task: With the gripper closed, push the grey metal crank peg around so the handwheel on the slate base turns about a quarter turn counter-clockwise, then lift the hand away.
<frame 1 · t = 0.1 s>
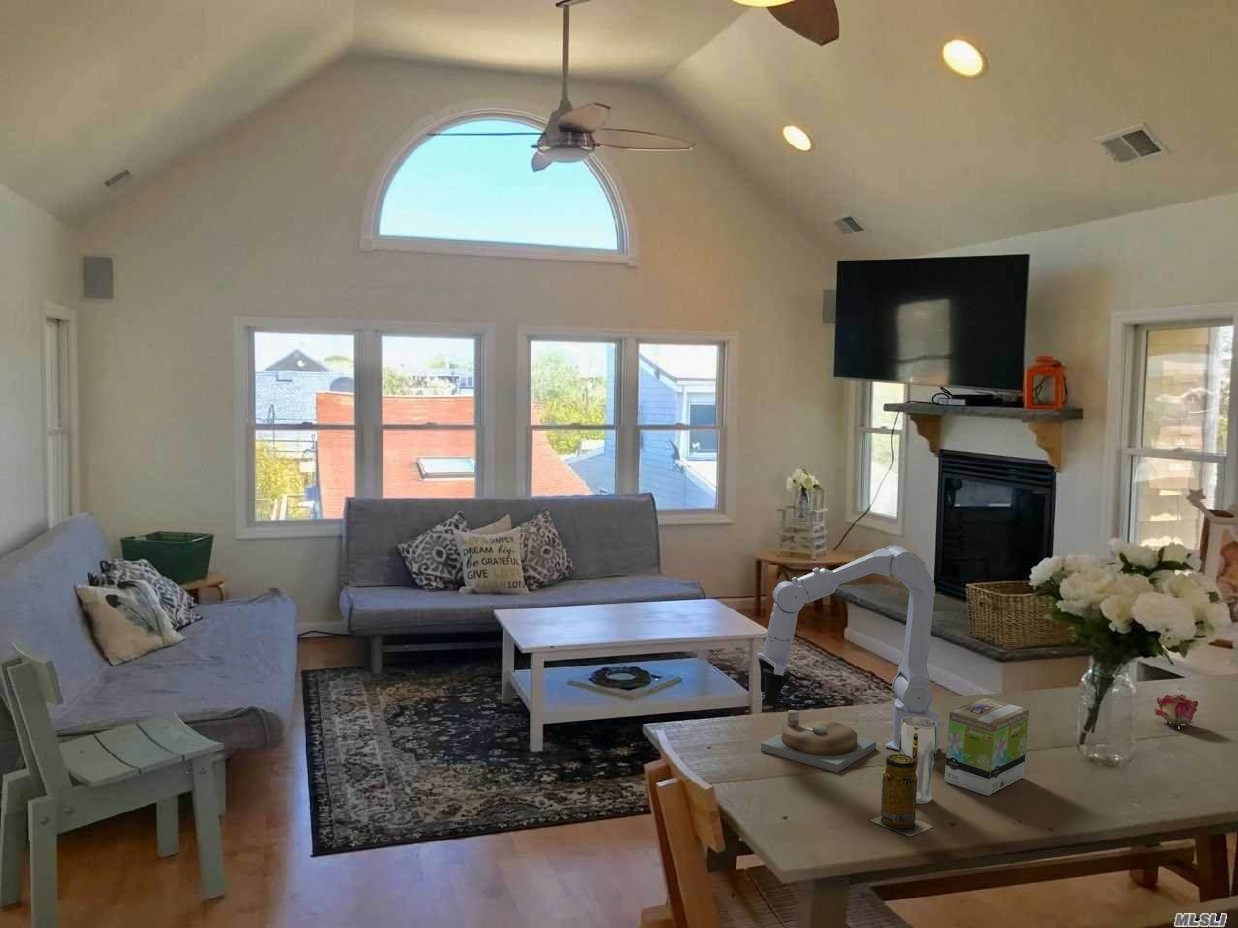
hand: (767, 697, 224), 10 cm above the table, tool pointing down, fingers open, 7 cm apart
beer glass: (914, 798, 198), on the table
handwheel: (819, 729, 222), point 4 cm above the table, hinge at 0.0°
flower: (1174, 726, 243), on the table
tea box: (984, 781, 208), on the table
base plate: (818, 749, 222), on the table
condiment: (901, 825, 186), on the table
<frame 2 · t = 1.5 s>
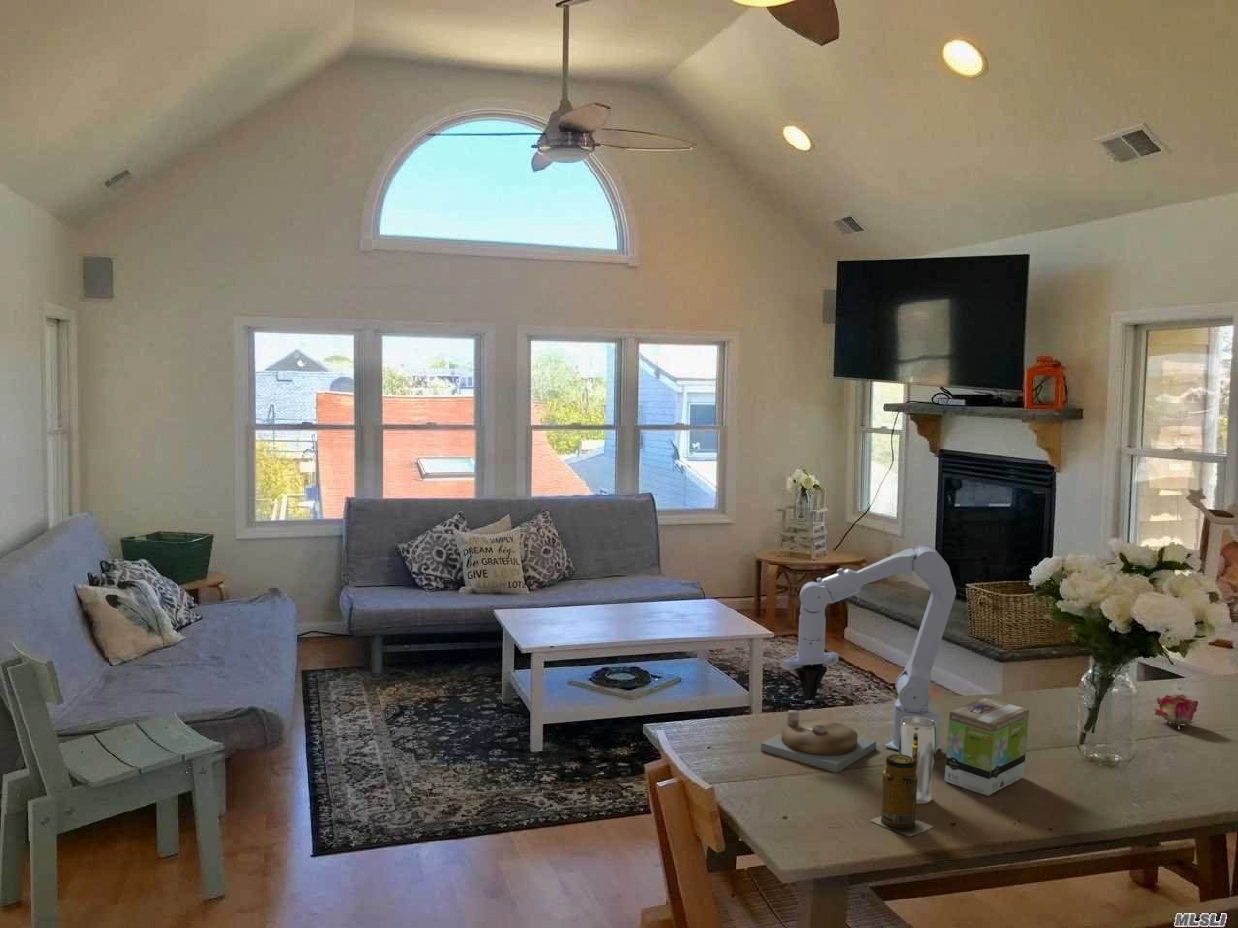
hand: (809, 697, 228), 9 cm above the table, tool pointing down, fingers closed
nothing on the table moved.
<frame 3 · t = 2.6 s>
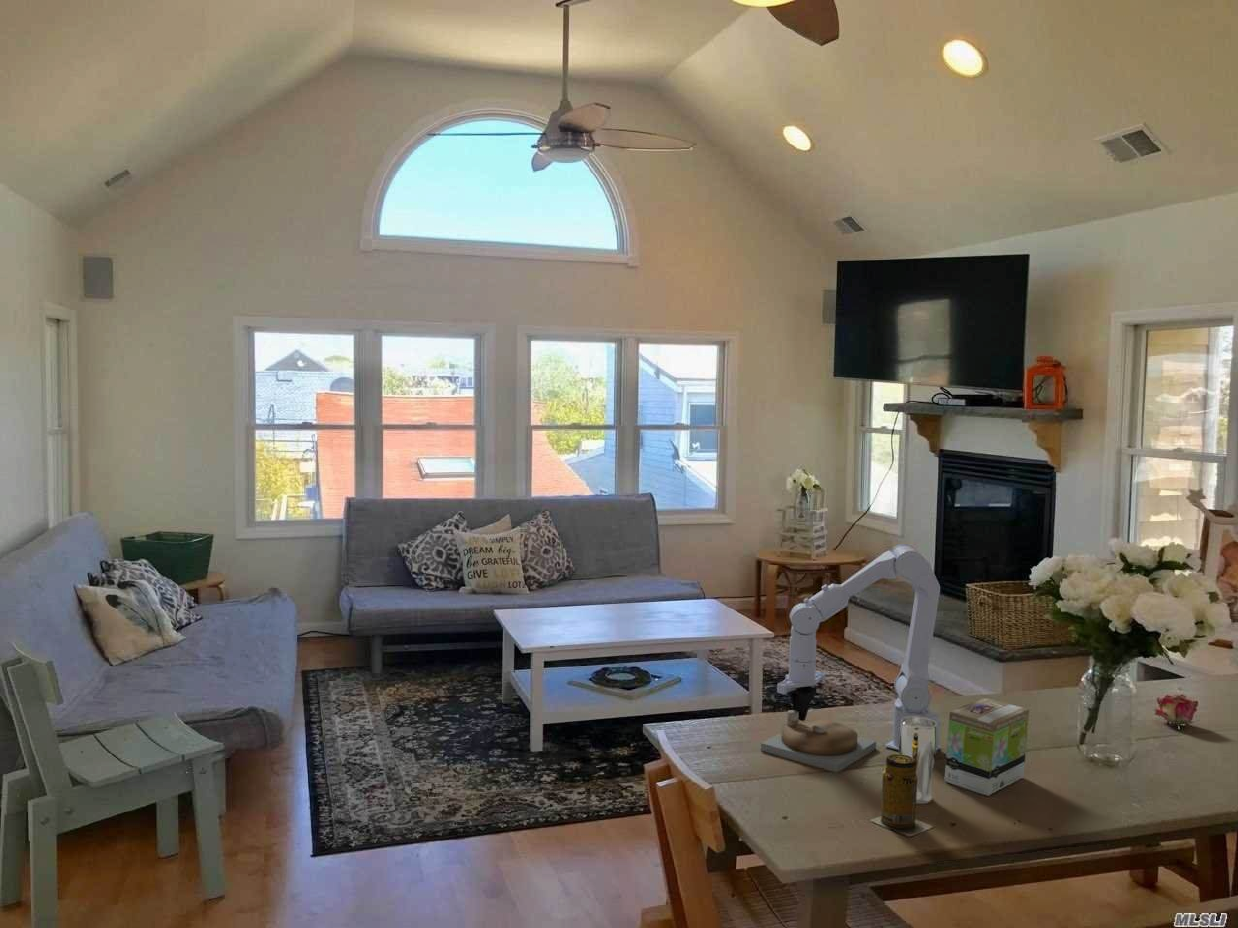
hand: (800, 719, 227), 5 cm above the table, tool pointing down, fingers closed
handwheel: (819, 729, 222), point 4 cm above the table, hinge at 0.7°, touching gripper
everything else where it was.
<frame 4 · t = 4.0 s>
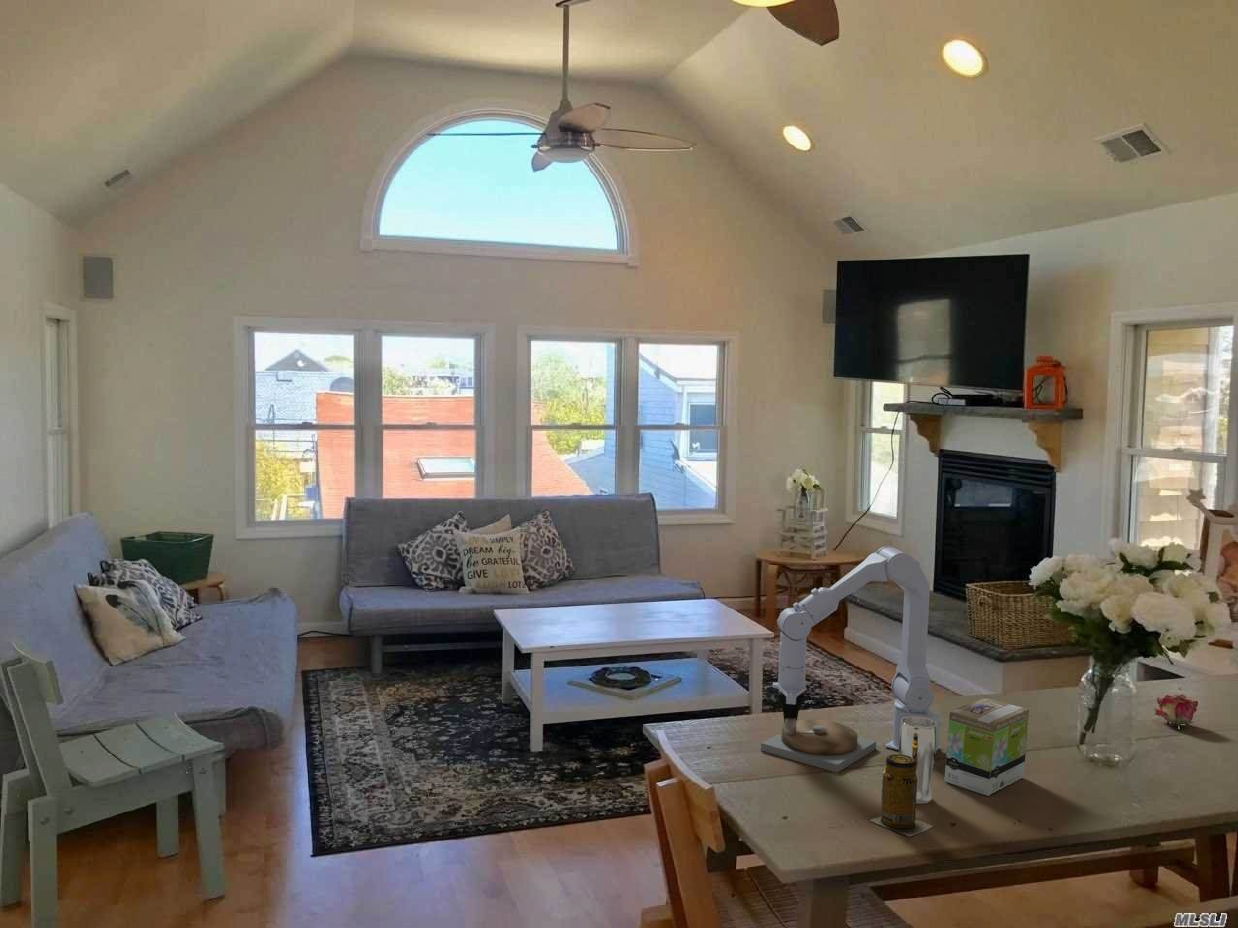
hand: (790, 726, 222), 5 cm above the table, tool pointing down, fingers closed, pressing on handwheel
handwheel: (819, 729, 222), point 4 cm above the table, hinge at 47.7°, touching gripper
everything else where it was.
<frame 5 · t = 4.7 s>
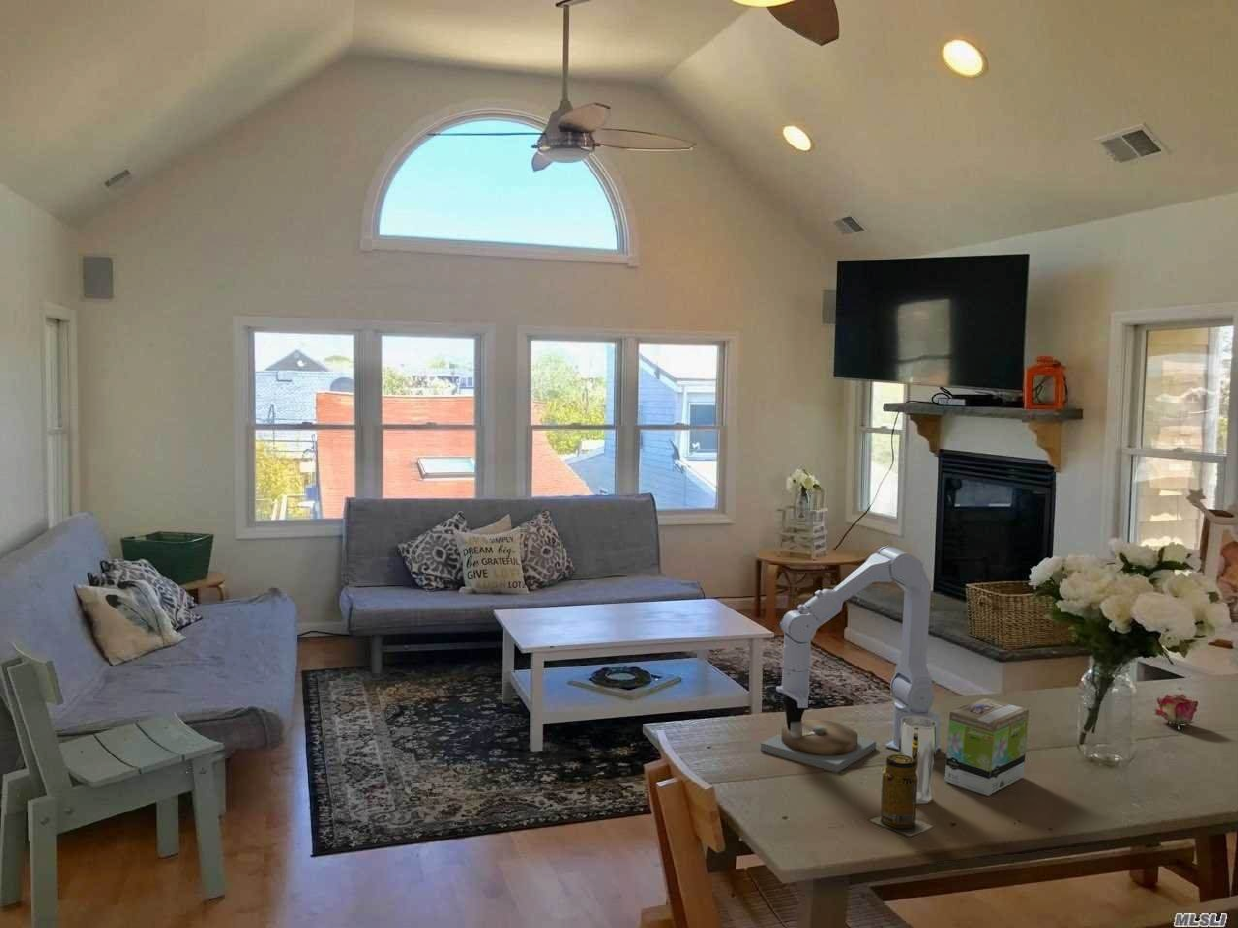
hand: (793, 729, 220), 5 cm above the table, tool pointing down, fingers closed, pressing on handwheel
handwheel: (819, 729, 222), point 4 cm above the table, hinge at 69.8°, touching gripper
everything else where it was.
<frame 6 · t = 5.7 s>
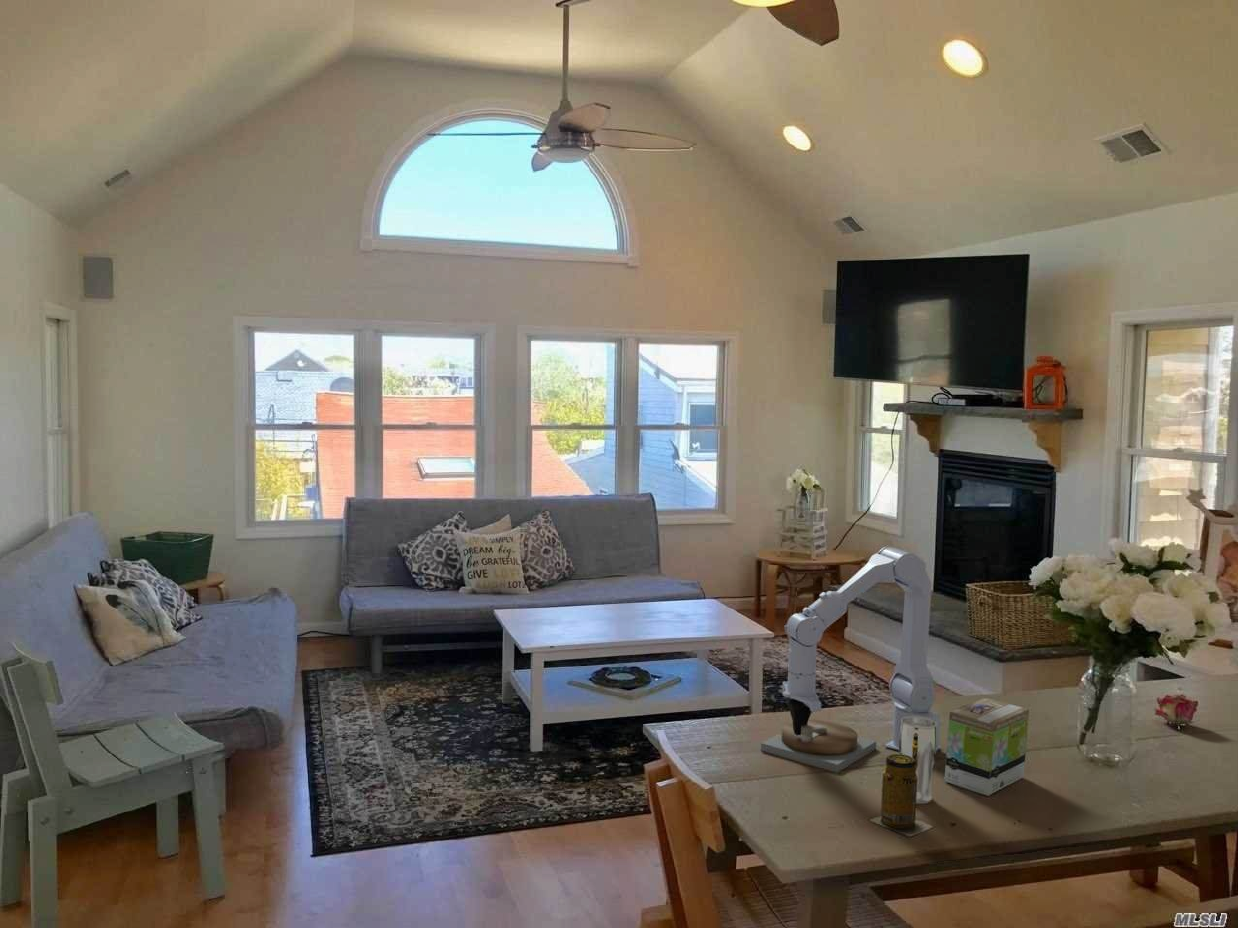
hand: (799, 733, 218), 5 cm above the table, tool pointing down, fingers closed, pressing on handwheel
handwheel: (819, 729, 222), point 4 cm above the table, hinge at 93.8°, touching gripper
everything else where it was.
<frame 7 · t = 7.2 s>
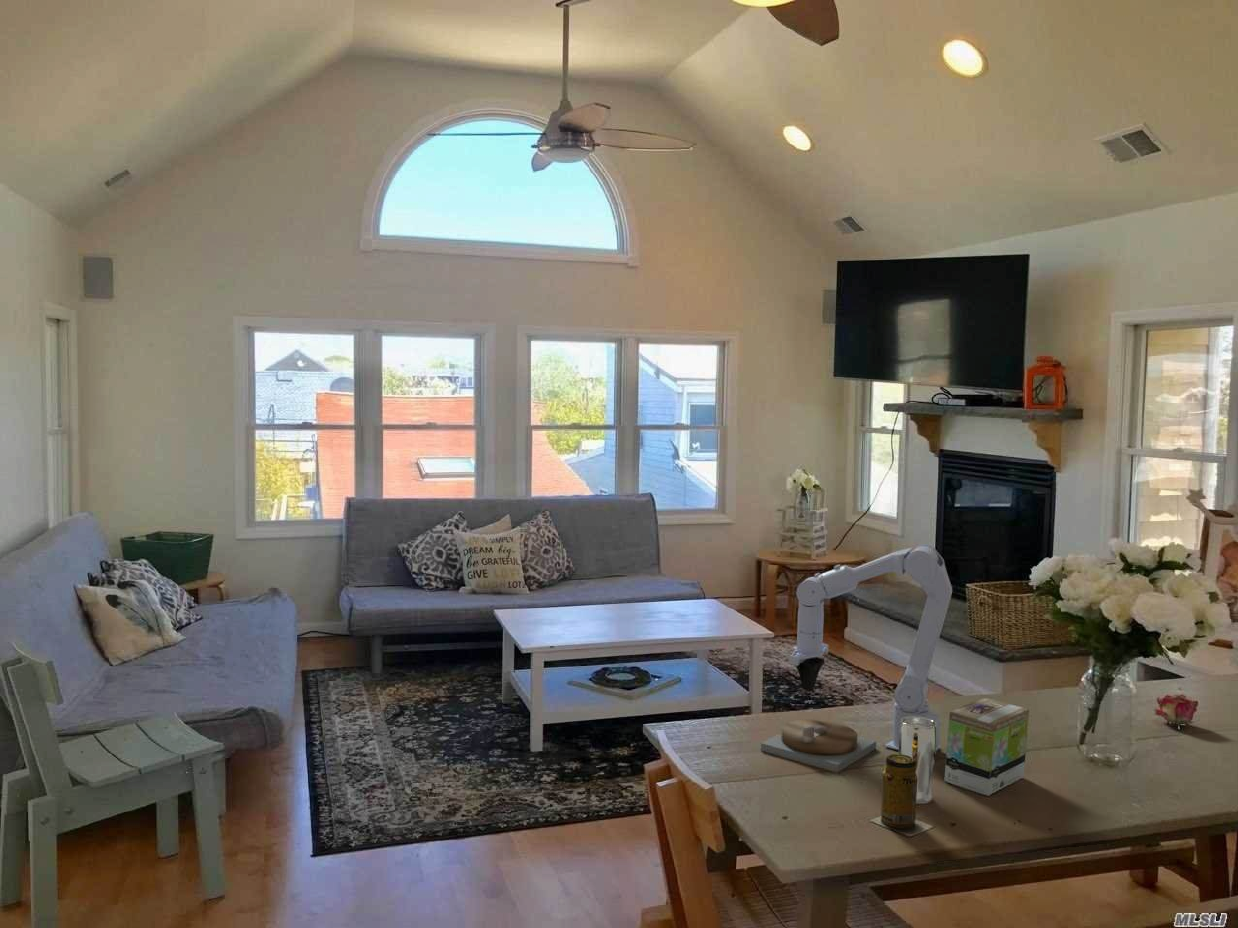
hand: (807, 689, 233), 9 cm above the table, tool pointing down, fingers closed
handwheel: (819, 729, 222), point 4 cm above the table, hinge at 96.9°
everything else where it was.
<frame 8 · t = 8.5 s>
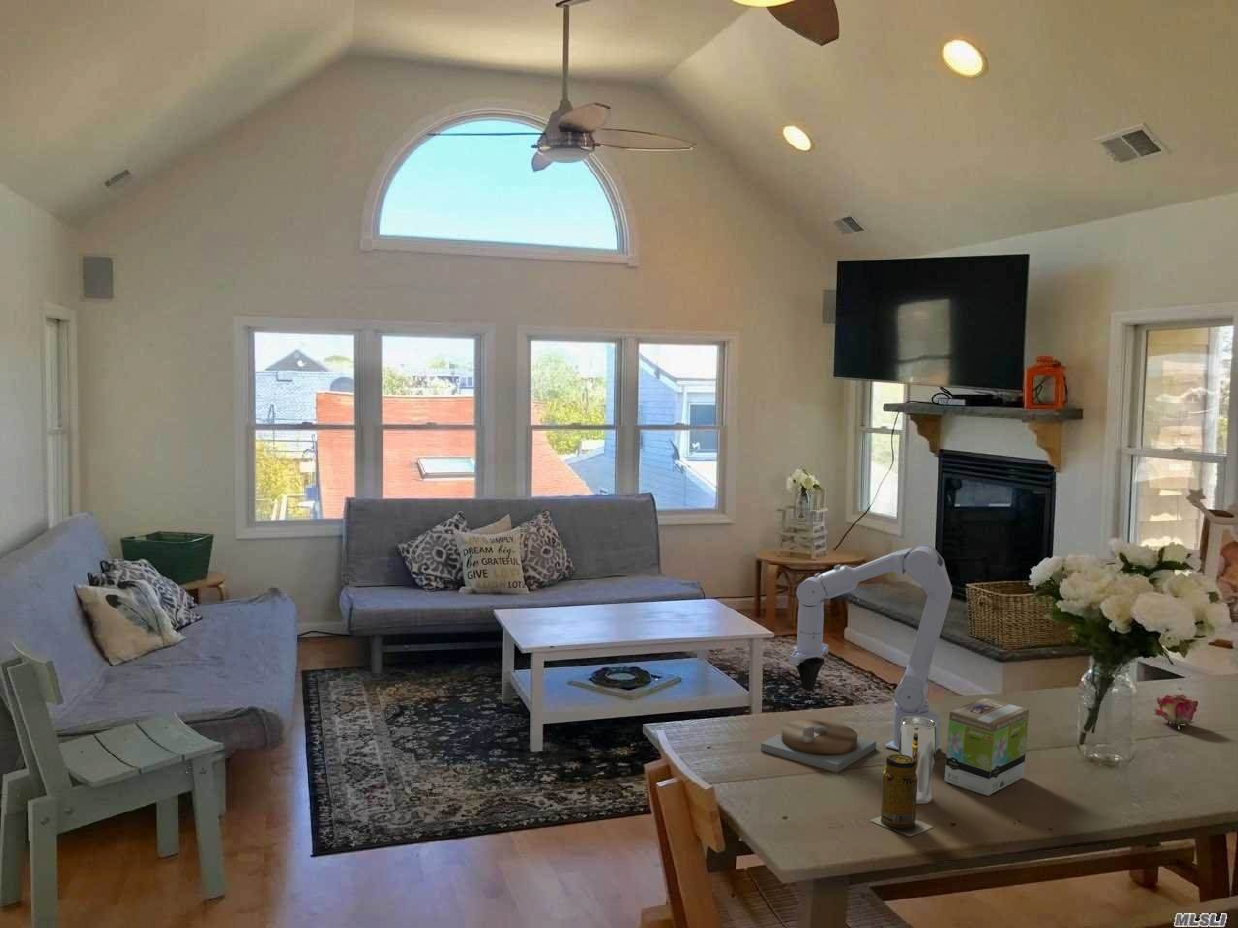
hand: (807, 689, 233), 9 cm above the table, tool pointing down, fingers closed
nothing on the table moved.
at the end: handwheel at +97° (first picture: +0°); condiment moved 0.3 cm from its start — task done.
